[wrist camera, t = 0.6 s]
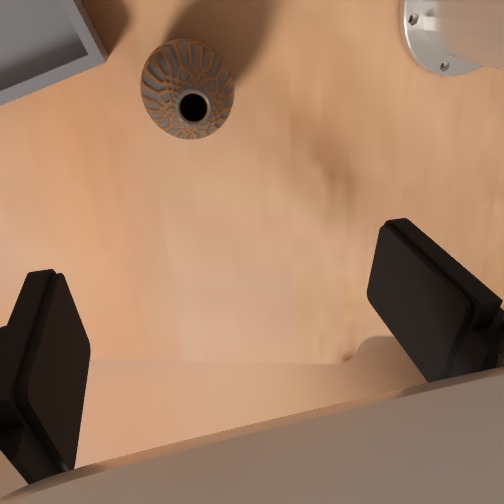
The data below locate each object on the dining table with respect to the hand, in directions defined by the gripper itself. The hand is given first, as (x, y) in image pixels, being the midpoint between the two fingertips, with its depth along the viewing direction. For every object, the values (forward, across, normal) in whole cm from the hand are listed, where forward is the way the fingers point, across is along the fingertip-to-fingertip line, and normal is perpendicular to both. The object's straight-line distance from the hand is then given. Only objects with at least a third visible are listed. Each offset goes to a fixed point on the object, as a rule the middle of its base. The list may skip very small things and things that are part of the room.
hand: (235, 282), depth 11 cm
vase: (+26, -1, -1) cm, 26 cm away
